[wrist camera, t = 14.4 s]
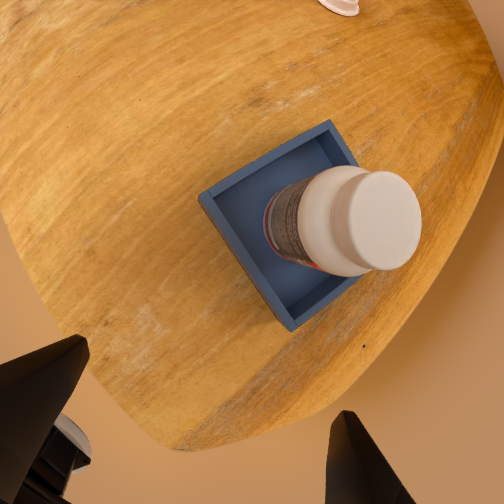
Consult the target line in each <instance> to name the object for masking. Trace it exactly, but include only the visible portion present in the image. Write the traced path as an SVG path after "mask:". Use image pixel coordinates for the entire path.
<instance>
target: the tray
mask: <svg viewBox="0 0 504 504" xmlns="http://www.w3.org/2000/svg"><path fill="white" fill-rule="evenodd" d="M345 165H347V166H356V167H359V165H358V164H357V162H356V160H355V158H354V157H353V155H352V153H351V152H350V150H349V148H348V147H347V145H346V143H345V142H344V140H343V139H342V137H341V135H340V134H339V132H338V131H337V129H336V128H335V126H334V124H333V123H332V121H331V120H330V119H329V120H327V121H325V122H323V123H321V124H319V125H317V126H315V127H314V128H312V129H310V130H308V131H306V132H304V133H302V134H300V135H299V136H297V137H295V138H293V139H291V140H289V141H288V142H286V143H284V144H282V145H281V146H279V147H277V148H275V149H273V150H272V151H270V152H268V153H266V154H265V155H263V156H261V157H260V158H258V159H256V160H255V161H253V162H251V163H249V164H248V165H246V166H244V167H243V168H241V169H239V170H238V171H236V172H235V173H233V174H231V175H230V176H228V177H226V178H225V179H223V180H222V181H220V182H218V183H217V184H215V185H214V186H212V187H211V188H209V189H208V190H206V191H204V192H203V193H201V194H200V195H199V197H198V202H199V204H200V205H201V207H202V208H203V210H204V211H205V213H206V214H207V216H208V217H209V219H210V220H211V222H212V223H213V225H214V226H215V228H216V229H217V231H218V232H219V234H220V235H221V237H222V238H223V240H224V241H225V243H226V244H227V246H228V247H229V249H230V250H231V252H232V253H233V255H234V256H235V258H236V259H237V261H238V262H239V264H240V265H241V267H242V268H243V270H244V271H245V273H246V274H247V276H248V277H249V279H250V280H251V281H252V283H253V284H254V286H255V287H256V289H257V290H258V292H259V293H260V295H261V296H262V298H263V299H264V301H265V302H266V304H267V305H268V306H269V308H270V309H271V311H272V312H273V314H274V315H275V317H276V318H277V320H278V321H279V322H280V323H281V324H282V325H283V326H284V327H285V328H286V329H287V330H288V331H289V332H292V331H294V330H295V329H297V328H298V327H299V326H301V325H302V324H303V323H305V322H306V321H307V320H308V319H310V318H311V317H312V316H314V315H315V314H316V313H318V312H319V311H320V310H321V309H323V308H324V307H325V306H326V305H328V304H329V303H330V302H331V301H333V300H334V299H335V298H336V297H338V296H339V295H340V294H341V293H343V292H344V291H345V290H346V289H347V288H349V287H350V286H351V285H352V284H353V283H355V282H356V281H357V280H358V279H359V278H361V277H362V276H363V275H364V274H362V275H359V276H354V277H344V276H337V275H333V274H330V273H327V272H324V271H320V270H318V269H314V268H311V267H308V266H304V265H301V264H298V263H294V262H291V261H288V260H286V259H284V258H282V257H281V256H279V255H278V254H276V252H275V251H274V250H273V249H272V248H271V247H270V245H269V244H268V242H267V240H266V237H265V234H264V230H263V217H264V212H265V209H266V206H267V204H268V203H269V201H270V199H271V198H272V197H273V196H274V195H275V194H276V193H277V192H278V191H280V190H281V189H283V188H285V187H287V186H289V185H291V184H294V183H296V182H298V181H300V180H303V179H306V178H308V177H311V176H313V175H316V174H318V173H320V172H322V171H324V170H327V169H330V168H333V167H337V166H345ZM359 168H360V167H359Z"/></svg>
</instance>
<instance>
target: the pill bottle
mask: <svg viewBox="0 0 504 504" xmlns="http://www.w3.org/2000/svg"><path fill="white" fill-rule="evenodd" d="M421 225H422V221H421V211H420V207H419V203H418V200H417V198H416V196H415V193H414V192H413V190H412V189H411V187H410V186H409V184H408V183H407V182H406V181H405V180H404V179H403V178H401V177H400V176H398V175H397V174H395V173H392V172H389V171H374V172H369V171H367V170H365V169H362V168H359V167H356V166H347V165H345V166H337V167H333V168H330V169H327V170H324V171H322V172H320V173H318V174H316V175H313V176H311V177H308V178H306V179H303V180H300V181H298V182H296V183H294V184H291V185H289V186H287V187H285V188H283V189H281V190H280V191H278V192H277V193H276V194H275V195H274V196H273V197H272V198H271V199H270V201H269V203H268V204H267V206H266V209H265V212H264V217H263V230H264V234H265V237H266V240H267V242H268V244H269V245H270V247H271V248H272V249H273V250H274V251H275V252H276V254H278V255H279V256H281V257H282V258H284V259H286V260H288V261H291V262H294V263H298V264H301V265H304V266H308V267H311V268H314V269H318V270H320V271H324V272H327V273H330V274H333V275H337V276H344V277H354V276H359V275H362V274H365V273H367V272H369V271H371V270H372V269H375V270H382V271H388V270H393V269H396V268H399V267H400V266H402V265H403V264H405V263H406V262H407V261H408V260H409V259H410V257H411V256H412V255H413V253H414V251H415V250H416V247H417V245H418V242H419V239H420V235H421Z"/></svg>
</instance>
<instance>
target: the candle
mask: <svg viewBox="0 0 504 504" xmlns="http://www.w3.org/2000/svg"><path fill="white" fill-rule="evenodd" d="M318 1H319V2H320V3H321V4H322V5H324V6H325V7H326V8H328V9H329V10H331V11H333V12H335V13H338V14H341V15H344V16H355V15H357V14H358V12H359V6H358V2H359V0H318Z"/></svg>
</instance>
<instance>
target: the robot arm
mask: <svg viewBox="0 0 504 504" xmlns="http://www.w3.org/2000/svg"><path fill="white" fill-rule="evenodd" d="M89 357H90V352H89V347H88V342H87V339H86V338H85V337H83V336H81V335H78V334H75V335H72V336H70V337H68V338H65V339H63V340H60V341H58V342H55V343H53V344H51V345H48V346H45V347H43V348H41V349H38V350H36V351H33V352H31V353H28V354H26V355H23V356H21V357H18V358H16V359H13V360H11V361H8V362H6V363H3V364H1V365H0V504H71V503H70V502H68V501H66V500H65V499H63V495H64V492H65V490H66V487H67V483H68V481H69V478H70V475H71V473H72V471H74V470H76V469H79V468H81V467H84V466H87V465H89V464H90V462H91V459H90V458H89V457H88V456H87V455H86V454H85V453H84V452H82V451H81V450H80V449H79V448H78V447H77V446H76V445H75V444H74V443H73V442H71V441H70V440H69V439H68V438H67V437H66V436H65V435H64V434H63V433H62V432H61V431H60V430H59V429H58V428H57V427H56V426H55V425H54V423H55V421H56V419H57V417H58V416H59V414H60V412H61V411H62V409H63V407H64V406H65V404H66V403H67V401H68V399H69V398H70V396H71V394H72V393H73V391H74V389H75V387H76V385H77V383H78V381H79V379H80V377H81V374H82V372H83V370H84V368H85V366H86V364H87V362H88V360H89ZM325 504H416V503H415V501H414V500H413V499H412V498H411V496H410V494H409V493H408V492H407V490H406V489H405V487H404V486H403V485H402V483H401V481H400V480H399V478H398V477H397V475H396V474H395V472H394V471H393V469H392V468H391V466H390V465H389V463H388V462H387V460H386V459H385V457H384V456H383V454H382V453H381V451H380V450H379V448H378V447H377V445H376V444H375V442H374V441H373V439H372V438H371V436H370V435H369V433H368V432H367V430H366V429H365V427H364V426H363V424H362V423H361V421H360V420H359V418H358V417H357V415H356V414H355V413H354V412H353V411H348V410H343V411H341V412H340V413H339V415H338V416H337V417H336V419H335V420H334V421H333V423H332V425H331V430H330V438H329V447H328V455H327V463H326V495H325Z"/></svg>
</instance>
